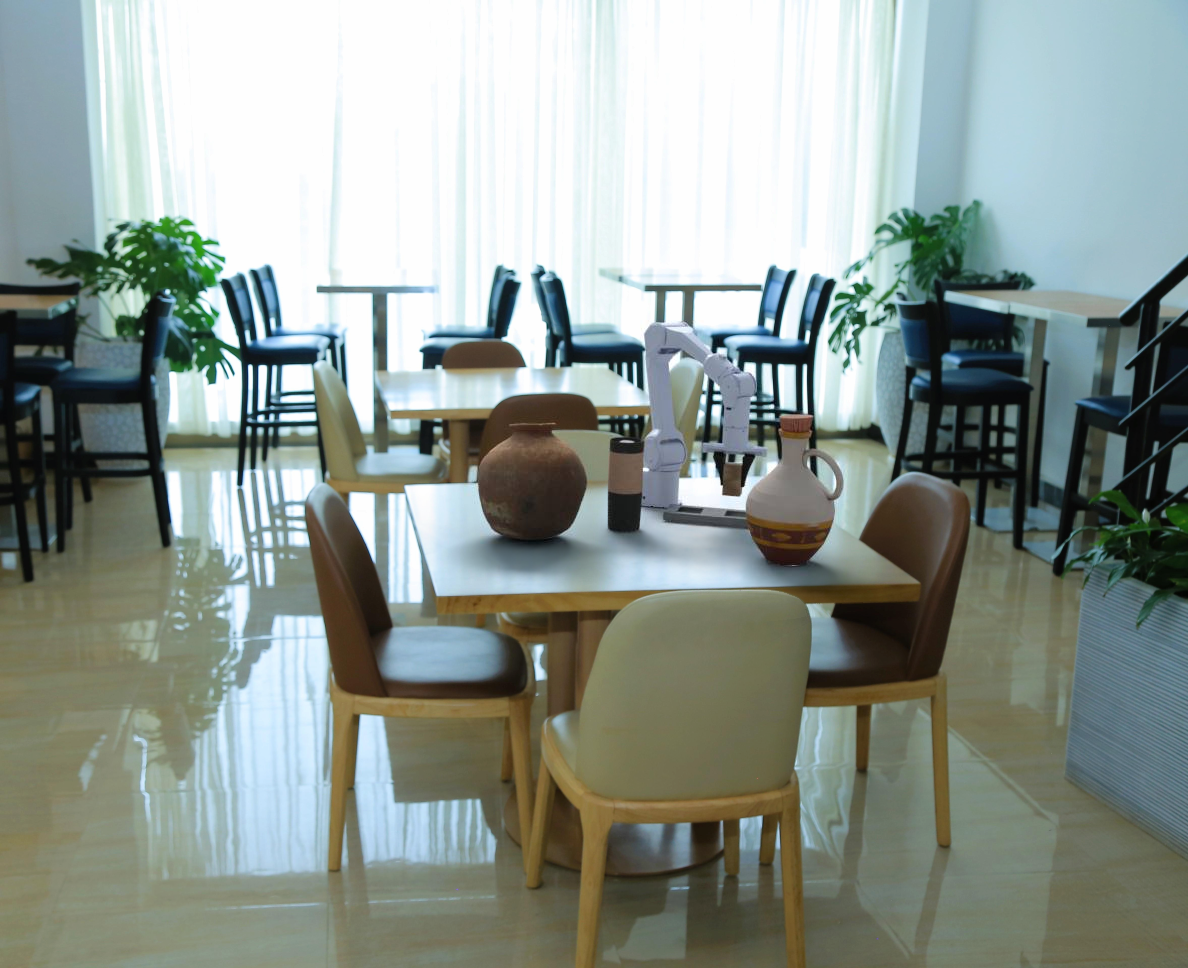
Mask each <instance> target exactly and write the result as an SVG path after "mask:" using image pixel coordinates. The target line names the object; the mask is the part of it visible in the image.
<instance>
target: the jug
mask: <svg viewBox="0 0 1188 968" xmlns="http://www.w3.org/2000/svg"><path fill="white" fill-rule="evenodd" d="M813 420H814V415H812V414H784V415H779V424H780V427H781V428H778V435H779V436H780V440H781V460H780V462H779V463H778V464H777V466H775V467H774V468H773V469H772V470H771V471H770V472H769V473H767V474H766V475H765V476H763V477H762V478H761V479H760V480H759V481H758V482H757V483H755V484H754V486H753V487H752V488H751V490H750V491H749V493H748V495H747V498H746V501H745V510H746V518H747V523H748V528H747V529H748V530H749V533H750V537H751V539H752V540H753V542H754V543H755V546H756V547H757V549H758V550H759V551H760V552H761V554H762V555H763V557H764V559H766V561H767V562H768V561H769V563H770V562H771V564H773V563H774V565H776V564H779V565H778V566H782V565H800V566H803V565H802V564H804V565H806V564H807V563H808V562H809V561H810V560H811V559H812V558H813V557H814V556H815V555H816V554H817V553H818V552H819V550H820V549H821V548H822V546H824V544H825V542H826V541H827V538H828V536H829V535H830V532H831V529H832V526H833V523H834V521H835V515H836V514H835V513H836V507H835V506H836V505H835V501H836V500H837V499H839V498H840V497H841V495H842V493H843V491H844V483H845V481H844V475H843V472H842V470H841V468H840V466H839V464H838V463H837V461H836V460H835V459H834V458H833V457H832V456H831V455H829V454H828V453H827V452H825V451H823V450H821V449H817V448H810V449H807V446H808V442H809V440H810V438H811V437H812V433H813V431H812V430H811V426H812V423H813ZM810 457H818V458H820V459H822V460H823V461H824V462H825V463H826V465H828V466H829V468H830V469H831V470H832V472H833V474H834V477H835V481H836V482H835V483H836V484H835V485H836V486H835V489H834V491H833V492H832V493H831V492H830V490H829V489H828V487H827V486H825V484H824V483H822V481H821V480H820V479H819V478H818V477H817V476H816V475H815V474H814V473H813V471H812V470H811V469H810V468H809V466H808V459H809V458H810ZM805 563H806V564H805Z"/></svg>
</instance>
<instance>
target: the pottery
mask: <svg viewBox="0 0 1188 968" xmlns="http://www.w3.org/2000/svg"><path fill="white" fill-rule="evenodd" d="M556 425H557V424H556V422H549V423H548V422H547V423H514V424H509V425H508V426H509V429H510V430H511V431H512V434H511V435H510V436H509V437H508V438H507V439H505V440H503V441H502V442H500V443H498V444H497V445H496V446H495V447H493V448H492V449H491V450H489V452H487V454H486V455H485V456H484V457H483V459H482V460H481V461H480V465H479V466H478V473H477V487H478V490H477V491H478V497H479V502H480V507H481V510H482V513H483V516H484V518H485V520H486V522H487V523H488V525H489V527H490V529H491V530H493V532H494V533H497V534H498V535H501V536H504V537H505V538H510V539H516V540H523V541H538V540H541V541H542V540H547V539H550V538H554V537H557V536H559V535H562V534H563V533H565V532H567V531H568V530H569V529H570V528H571V527H572V526H573V524H574V522H575V520H576V518H577V516H578V514H579V511H580V509H581V506H582V503H583V500H584V496H585V494H586V492H587V488H588V487H587V486H588V477H587V473H586V470H585V467H584V464H583V462H582V460H581V458H580V456H579V455H578V454H577V452H576V451H575V450H574V448H572V447H571V446H570V445H569V444H568V443H567V442H565V441H564V440H562V439H561V438H560V437H557V436H556V435H555V434H554V433H553V429H554V428H555V427H556Z"/></svg>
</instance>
